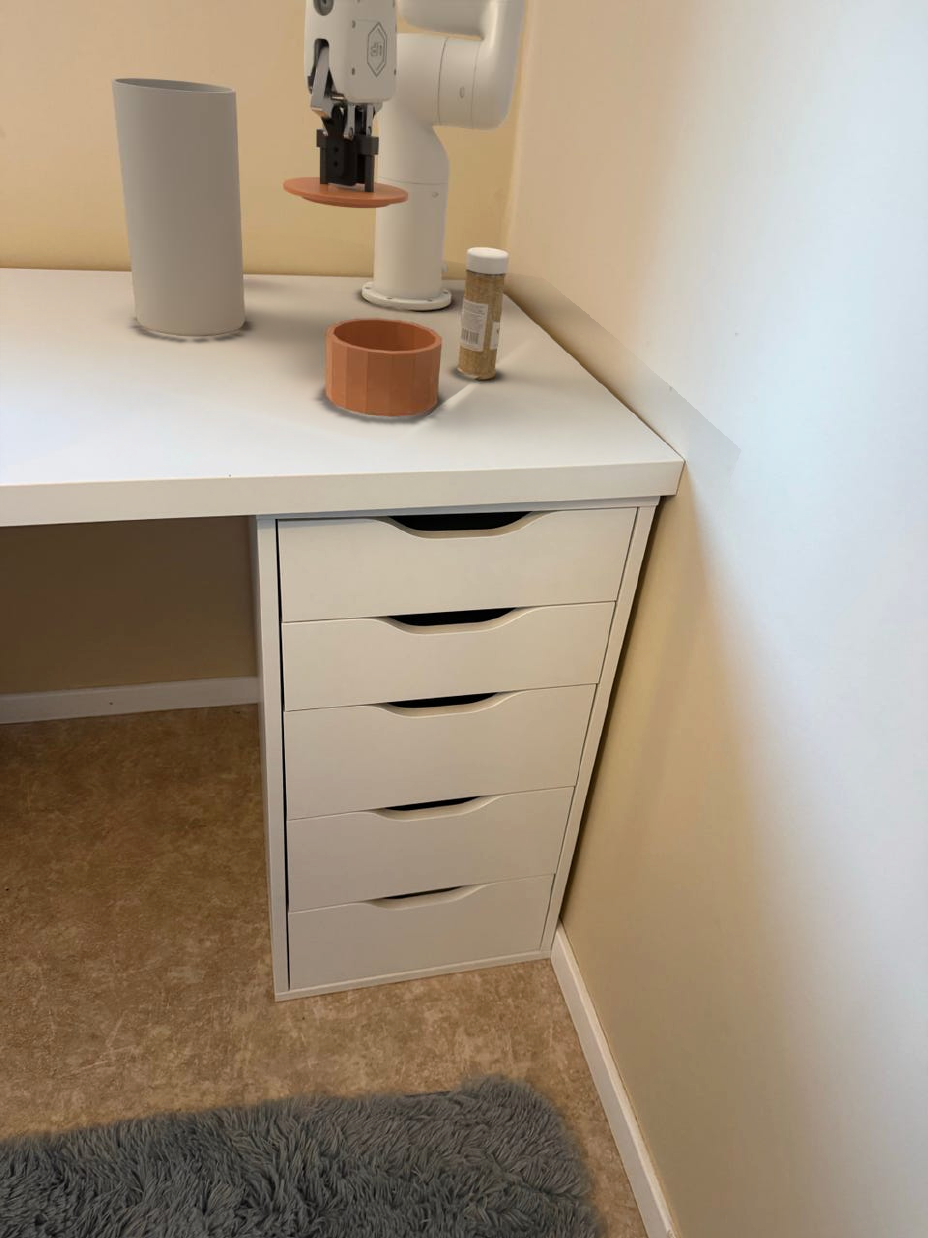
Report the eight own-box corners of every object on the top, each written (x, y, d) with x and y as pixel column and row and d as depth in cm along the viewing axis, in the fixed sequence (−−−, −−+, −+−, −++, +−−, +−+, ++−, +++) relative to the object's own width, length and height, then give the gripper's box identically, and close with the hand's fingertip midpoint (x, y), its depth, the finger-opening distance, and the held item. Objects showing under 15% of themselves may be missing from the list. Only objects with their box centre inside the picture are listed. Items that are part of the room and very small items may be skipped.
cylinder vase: (114, 327, 105) (85, 78, 91) (176, 304, 115) (158, 76, 101) (209, 347, 102) (193, 94, 88) (264, 321, 112) (257, 90, 98)
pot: (358, 374, 100) (360, 311, 96) (453, 396, 96) (459, 332, 93) (305, 404, 90) (305, 336, 87) (408, 430, 87) (412, 361, 84)
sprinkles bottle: (503, 378, 103) (518, 254, 95) (470, 382, 101) (483, 256, 93) (480, 365, 106) (493, 244, 98) (448, 369, 104) (458, 246, 96)
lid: (323, 184, 96) (324, 122, 92) (427, 202, 92) (431, 138, 89) (258, 196, 86) (256, 126, 83) (372, 216, 83) (375, 145, 79)
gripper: (345, -57, 71) (341, 197, 81) (428, -37, 83) (415, 181, 94) (264, -64, 73) (269, 184, 83) (356, -43, 86) (351, 170, 96)
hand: (346, 181), depth 88 cm, fingers closed on lid, 1 cm apart
